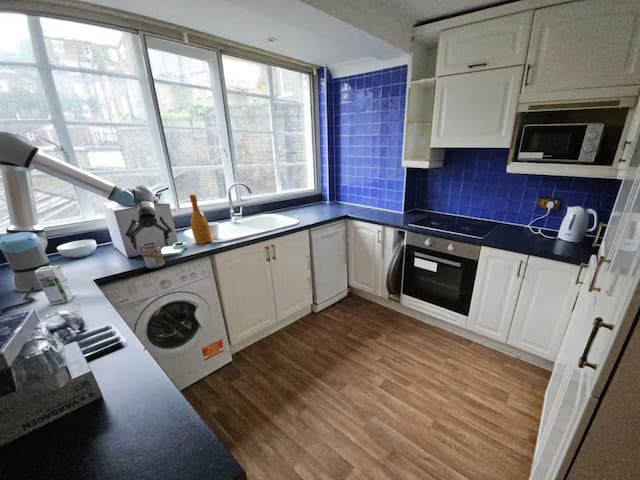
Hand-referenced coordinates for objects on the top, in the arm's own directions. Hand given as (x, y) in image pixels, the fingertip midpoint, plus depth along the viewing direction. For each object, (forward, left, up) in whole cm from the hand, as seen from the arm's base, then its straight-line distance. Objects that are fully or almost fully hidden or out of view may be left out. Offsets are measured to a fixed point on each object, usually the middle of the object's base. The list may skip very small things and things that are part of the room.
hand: (151, 246), depth 151 cm
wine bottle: (+33, -17, -10) cm, 38 cm away
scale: (+19, -3, -10) cm, 21 cm away
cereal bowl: (+31, +47, -10) cm, 58 cm away
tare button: (+23, -6, -7) cm, 25 cm away
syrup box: (-33, +24, -10) cm, 42 cm away
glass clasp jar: (-4, -1, -10) cm, 11 cm away
